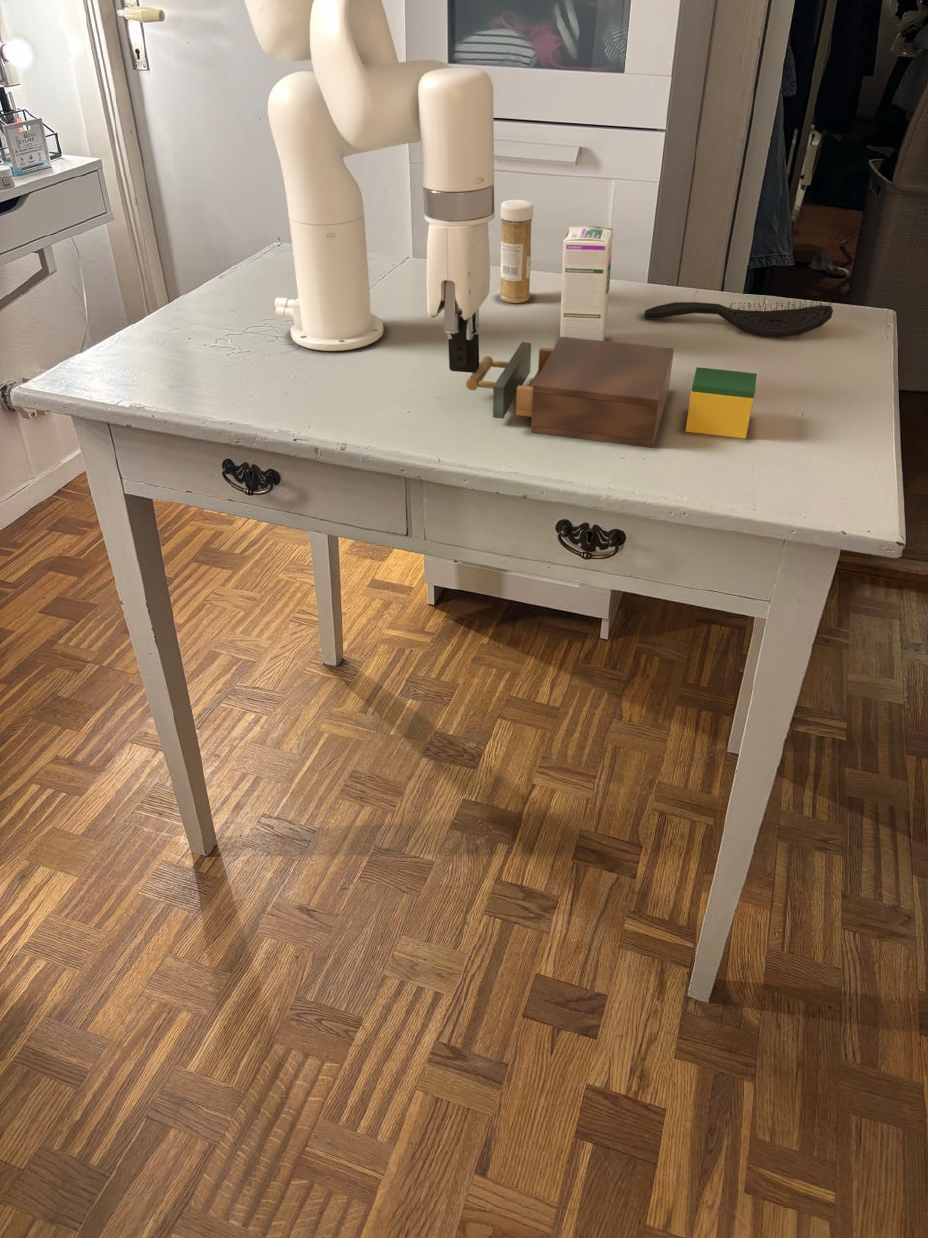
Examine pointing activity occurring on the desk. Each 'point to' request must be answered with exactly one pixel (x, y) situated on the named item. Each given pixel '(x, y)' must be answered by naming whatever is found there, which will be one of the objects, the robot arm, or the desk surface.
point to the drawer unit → (602, 391)
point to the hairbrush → (753, 317)
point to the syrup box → (586, 282)
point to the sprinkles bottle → (515, 250)
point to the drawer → (510, 380)
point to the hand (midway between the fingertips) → (464, 368)
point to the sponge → (721, 402)
